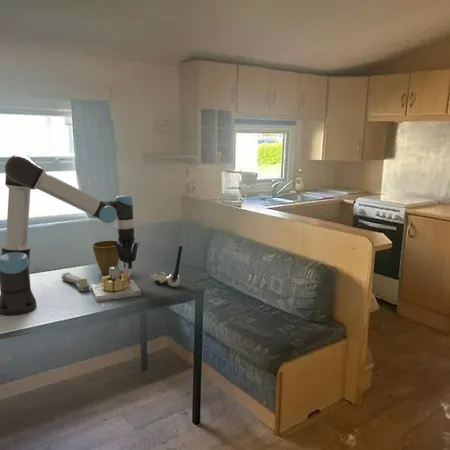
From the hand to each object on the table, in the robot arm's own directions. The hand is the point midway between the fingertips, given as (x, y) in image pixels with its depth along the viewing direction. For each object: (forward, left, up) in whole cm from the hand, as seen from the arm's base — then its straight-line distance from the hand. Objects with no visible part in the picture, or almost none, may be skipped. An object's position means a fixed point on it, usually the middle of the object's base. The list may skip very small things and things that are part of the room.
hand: (128, 275), depth 225 cm
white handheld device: (-24, +11, -6) cm, 27 cm away
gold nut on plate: (-8, -7, -5) cm, 12 cm away
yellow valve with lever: (-6, -4, -3) cm, 7 cm away
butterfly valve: (+17, -4, -6) cm, 19 cm away
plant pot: (-5, +27, -6) cm, 28 cm away
